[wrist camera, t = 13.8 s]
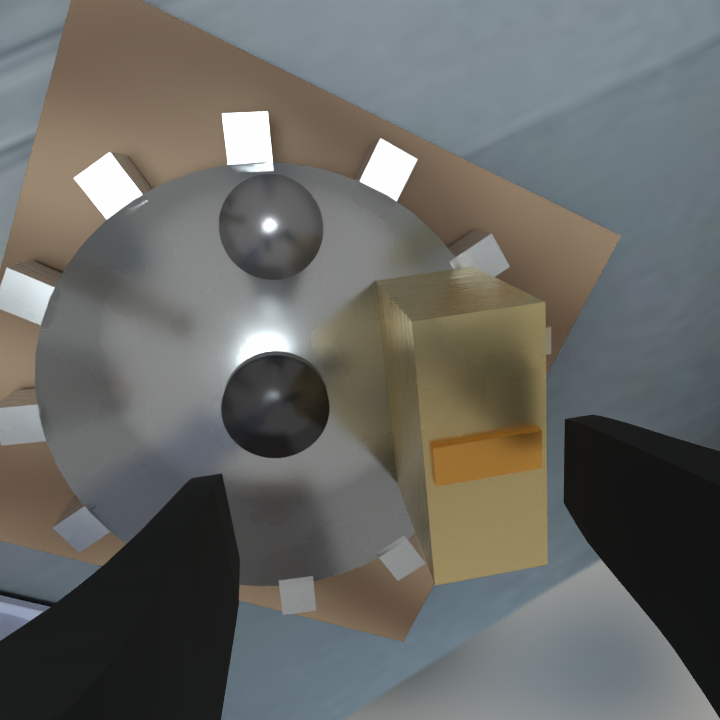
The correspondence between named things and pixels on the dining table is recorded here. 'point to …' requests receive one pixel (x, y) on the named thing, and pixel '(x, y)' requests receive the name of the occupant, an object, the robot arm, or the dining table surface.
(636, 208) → the dining table surface
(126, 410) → the sprocket
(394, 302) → the yellow block
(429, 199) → the sprocket base
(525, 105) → the dining table surface
